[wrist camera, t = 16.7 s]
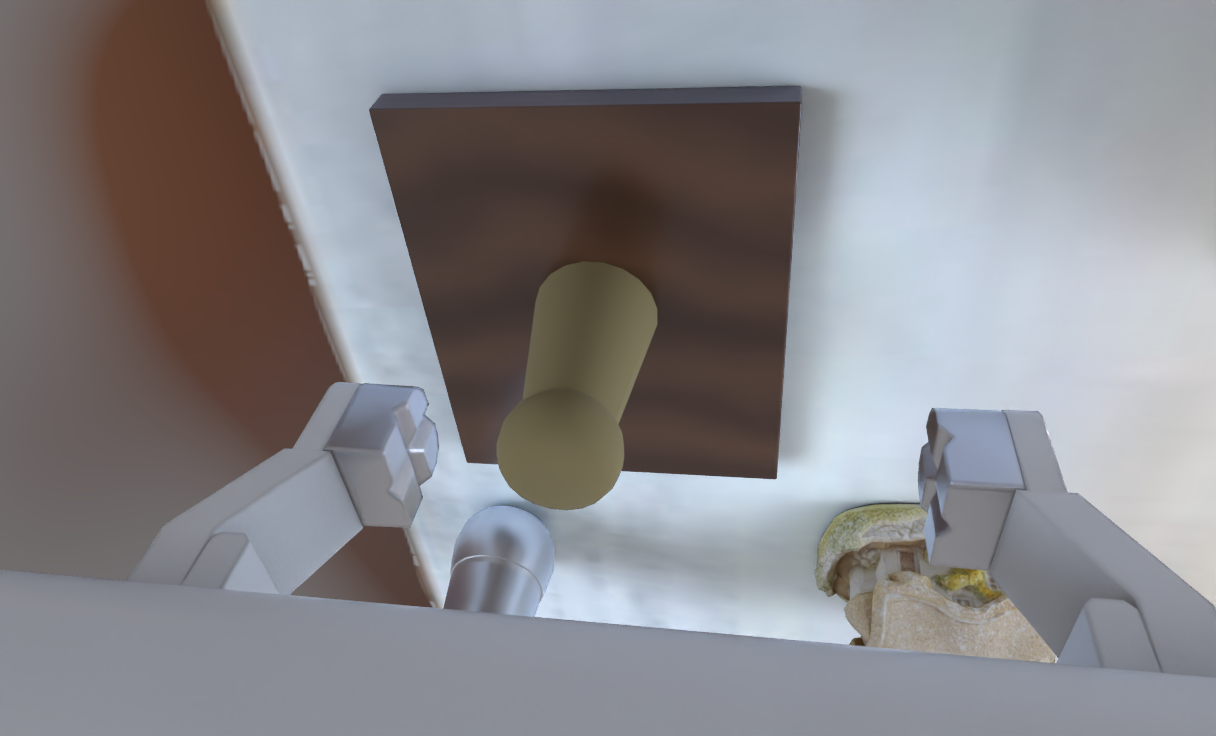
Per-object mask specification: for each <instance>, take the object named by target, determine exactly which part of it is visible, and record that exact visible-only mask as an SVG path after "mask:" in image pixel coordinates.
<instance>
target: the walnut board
mask: <svg viewBox="0 0 1216 736" xmlns="http://www.w3.org/2000/svg"><path fill="white" fill-rule="evenodd" d="M801 110H802V94H801V87H800V86H778V87H728V88H678V89H628V90H578V91H528V92H477V93H427V94H382V95H381V96H380V97H379V98H378V99H377V100H376V102H375V103H374V104H373V105H372V107H371V108H370V109H369V112H370V115H371V119H372V123H373V126H374V130H375V133H376V137H377V141H378V144H379V148H380V151H381V155H382V159H383V162H384V166H385V169H386V173H387V177H388V180H389V184H390V187H391V191H392V195H393V198H394V202H395V205H396V209H397V213H398V216H399V220H400V223H401V227H402V230H403V234H404V238H405V241H406V245H407V248H408V252H409V256H410V259H411V263H412V266H413V270H414V274H415V277H416V281H417V284H418V288H419V292H420V295H421V299H422V302H423V306H424V310H425V313H426V317H427V320H428V324H429V328H430V331H431V335H432V338H433V342H434V346H435V349H436V353H437V356H438V360H439V364H440V367H441V371H442V374H443V378H444V382H445V385H446V389H447V392H448V396H449V400H450V403H451V407H452V410H453V414H454V418H455V421H456V425H457V428H458V432H459V436H460V439H461V443H462V446H463V450H464V454H465V457H466V461H467V463H482V464H498V459H497V441H498V437H499V434H500V430H501V427H502V425H503V422H504V420H505V418H506V417H507V416H508V415H509V413H510V412H511V411H512V410H513V409H514V407H515V406H516V405H517V404H518V403H519V402H520V401H522V399H523V392H524V384H525V377H526V369H527V362H528V354H529V347H530V340H531V332H532V325H533V317H534V310H535V302H536V298H537V295H538V291H539V288H540V286H541V285H542V284H543V282H544V281H545V280H546V279H547V277H548V276H549V275H550V274H551V273H553V272H555V271H557V270H558V269H560V268H562V267H563V266H565V265H570V264H574V263H579V262H583V261H585V262H603V263H607V264H610V265H613V266H616V267H619V268H622V269H624V270H625V271H627V272H629V273H630V274H632V275H633V276H635V277H636V278H638V279H639V280H640V281H641V282H642V283H643V284H644V286H645V287H646V288H647V289H648V290H649V291H650V293H651V294H652V297H653V299H654V302H655V304H656V307H657V327H656V329H655V332H654V334H653V337H652V339H651V342H650V345H649V347H648V350H647V352H646V355H645V357H644V360H643V363H642V365H641V368H640V370H639V373H638V375H637V378H636V380H635V383H634V386H633V388H632V391H631V393H630V396H629V398H628V401H627V404H626V406H625V409H624V411H623V414H622V416H621V419H620V422H619V424H618V425H619V427H620V429H621V431H622V435H623V441H624V462H623V468H622V470H621V471H631V472H650V473H668V474H687V475H705V476H724V477H743V478H761V479H776V478H777V467H778V452H779V437H780V422H781V407H782V392H783V378H784V363H785V348H786V333H787V318H788V303H789V288H790V273H791V259H792V244H793V229H794V214H795V199H796V184H797V169H798V155H799V140H800V125H801Z"/></svg>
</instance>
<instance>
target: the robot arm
mask: <svg viewBox="0 0 1216 736" xmlns="http://www.w3.org/2000/svg"><path fill="white" fill-rule="evenodd" d="M428 405H429V403H428V400H427V398H426V395H425V392H424V389H421V388H419V387H413V386H398V385H383V384H368V383H364V384H357V383H344V382H336V383H335V384H333V385H332V386H330V387H329V389H328V390H327V392H326V394H325V395H324V397H323V399H322V400H321V402H320V404H319V405H318V407H317V409H316V410H315V412H314V414H313V415H312V417H311V419H310V420H309V422H308V424H307V425H306V427H305V429H304V431H303V432H302V434H301V435H300V437H299V439H298V440H297V442H296V444H295V445H294V447H293V449H283V450H282V451H280V452H278V453H277V454H275V455H274V456H272V457H271V458H269V459H267V460H266V461H264V462H262V463H261V464H259V465H258V466H256V467H255V468H253V469H252V470H250V471H249V472H247V473H245V474H244V475H242V476H240V477H239V478H237V479H236V480H234V481H233V482H231V483H230V484H228V485H226V486H225V487H223V488H221V489H220V490H218V491H217V492H215V493H214V494H212V495H210V496H209V497H207V498H206V499H204V500H203V501H201V502H199V503H198V504H196V505H195V506H193V507H192V508H190V509H188V510H187V511H185V512H184V513H182V514H181V515H179V516H177V517H176V518H174V519H173V520H171V521H169V522H168V523H166V524H165V525H164V526H163V527H162V529H161V530H160V532H159V533H158V535H157V536H156V537H155V539H154V540H153V542H152V543H151V545H150V546H149V548H148V549H147V550H146V552H145V553H144V555H143V556H142V558H141V559H140V561H139V562H138V563H137V565H136V567H135V568H134V569H133V571H132V572H131V574H130V575H129V577H128V578H127V579H126V581H123V580H111V579H101V578H89V577H79V576H67V575H55V574H45V573H33V572H22V571H10V570H0V736H1216V609H1215V607H1214V605H1213V604H1212V603H1210V602H1209V601H1208V600H1207V599H1206V598H1204V597H1203V596H1202V595H1201V594H1200V593H1198V592H1197V591H1196V590H1195V589H1193V588H1192V587H1191V586H1190V585H1189V584H1187V583H1186V582H1185V581H1184V580H1183V579H1181V578H1180V577H1179V576H1178V575H1177V574H1175V573H1174V572H1173V571H1172V570H1170V569H1169V568H1168V567H1167V566H1166V565H1164V564H1163V563H1162V562H1161V561H1160V560H1158V559H1157V558H1156V557H1155V556H1153V555H1152V554H1151V553H1150V552H1149V551H1147V550H1146V549H1145V548H1144V547H1143V546H1141V545H1140V544H1139V543H1138V542H1137V541H1135V540H1134V539H1133V538H1132V537H1130V536H1129V535H1128V534H1127V533H1126V532H1124V531H1123V530H1122V529H1121V528H1120V527H1118V526H1117V525H1116V524H1115V523H1113V522H1112V521H1111V520H1110V519H1109V518H1107V517H1106V516H1105V515H1104V514H1103V513H1101V512H1100V511H1099V510H1098V509H1097V508H1095V507H1094V506H1093V505H1092V504H1090V503H1089V502H1088V501H1087V500H1086V499H1084V498H1083V497H1082V496H1081V495H1080V494H1078V493H1068V492H1067V489H1066V486H1065V483H1064V480H1063V477H1062V474H1061V471H1060V468H1059V465H1058V461H1057V458H1056V455H1055V452H1054V449H1053V446H1052V443H1051V440H1050V437H1049V434H1048V431H1047V428H1046V425H1045V422H1044V419H1043V416H1042V415H1041V414H1040V413H1039V412H1038V411H1019V410H1002V411H999V410H976V409H947V408H932V409H931V411H930V414H929V417H928V421H927V426H926V428H927V434H928V441H929V442H928V443H927V444H925V445H924V446H923V447H922V449H921V455H920V460H919V471H918V490H919V499H920V507H921V508H922V509H923V510H924V511H925V512H926V513H927V518H926V523H925V527H924V534H925V540H926V546H927V552H928V559H929V565H933V566H943V567H954V568H964V569H974V570H985V571H989V573H988V574H989V575H990V576H991V577H992V578H993V580H994V581H995V582H996V583H997V585H998V586H999V587H1000V588H1001V589H1002V591H1003V592H1004V593H1005V594H1006V595H1007V597H1008V598H1009V599H1010V600H1011V601H1012V603H1013V604H1014V605H1015V606H1016V607H1017V609H1018V610H1019V611H1020V612H1021V613H1022V615H1023V616H1024V617H1025V618H1026V619H1027V621H1028V622H1029V623H1030V624H1031V625H1032V627H1033V628H1034V629H1035V630H1036V632H1037V633H1038V634H1039V635H1040V636H1041V638H1042V639H1043V640H1044V641H1045V642H1046V644H1047V645H1048V646H1049V647H1050V648H1051V650H1052V651H1053V652H1054V653H1055V654H1056V656H1057V657H1058V658H1059V659H1058V661H1057V663H1045V662H1034V661H1023V660H1011V659H1000V658H989V657H978V656H966V655H955V654H944V653H933V652H921V651H910V650H899V649H888V648H877V647H866V646H854V645H843V644H832V643H821V642H810V641H798V640H787V639H776V638H765V637H753V636H742V635H731V634H720V633H709V632H697V631H686V630H675V629H664V628H653V627H641V626H630V625H619V624H608V623H596V622H585V621H574V620H563V619H551V618H540V617H529V616H518V615H506V614H495V613H484V612H473V611H461V610H450V609H439V608H428V607H416V606H405V605H393V604H383V603H371V602H360V601H349V600H338V599H326V598H315V597H304V596H292V595H290V594H291V593H292V592H293V591H294V590H295V589H296V588H298V587H299V586H300V585H301V584H302V583H303V582H304V581H305V580H306V579H308V578H309V577H310V576H311V575H312V574H313V573H314V572H315V571H316V570H317V569H319V568H320V567H321V566H322V565H323V564H324V563H325V562H326V561H327V560H329V559H330V558H331V557H332V556H333V555H334V554H335V553H336V552H337V551H338V550H340V549H341V548H342V547H343V546H344V545H345V544H346V543H347V542H348V541H349V540H350V539H352V538H353V537H354V536H355V535H356V534H357V533H358V532H359V531H360V530H362V529H363V526H384V527H406V528H410V527H411V525H412V522H413V520H414V518H415V515H416V513H417V510H418V508H419V506H420V503H421V501H422V498H423V495H422V492H421V489H420V485H421V484H422V483H424V482H425V481H426V480H428V479H429V478H430V477H432V474H433V471H434V469H435V466H436V464H437V457H438V450H439V442H438V433H437V430H436V426H435V423H434V422H433V421H432V420H430V419H429V418H428V417H427V416H426V415H425V411H426V409H427V407H428Z"/></svg>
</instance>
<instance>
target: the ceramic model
mask: <svg viewBox="0 0 1216 736" xmlns="http://www.w3.org/2000/svg"><path fill="white" fill-rule="evenodd" d="M926 518H927V513H926V512H925V511H924V510H923V509H922V508H921V507H920V505H919V504H878V505H869V506H862V507H858V508H853V509H850V510H847V511H845V512H843V513H841V514H839V515H838V516H836V517H835V518H834V520H833V521H832V522H831V523H830V525H829V526H828V528H827V529H826V531H825V533H824V535H823V536H822V537H821V540H820V542H819V545H818V560H817V568H816V569H815V570H814V572H815V577H816V581H817V587H818V589H819V590H822V591H824V592H826V593H827V596H828V597H830V596H833V595H834V594H835V593H836V594H837V595H838V596H839V597H841V598H842V599H843V600H845V601H846V602H848V603H847V605H846V607H845V609H844V610H845V615H846V618H847V620H848V621H849V623H850V624H851V625H852V626H853V628H854V629H855V630H857V631H858V633H859V634H860V635H861V637H860V638H854V639H852V641H851V643H850V644H849V645H854V646H866V647H877V648H888V649H899V650H910V651H921V652H933V653H944V654H955V655H966V656H978V657H989V658H1000V659H1011V660H1023V661H1034V662H1045V663H1054V662H1055V657H1056V654H1055V653H1054V652H1053V651H1052V650H1051V648H1050V647H1049V646H1048V645H1047V644H1046V642H1045V641H1044V640H1043V639H1042V638H1041V636H1040V635H1039V634H1038V633H1037V632H1036V630H1035V629H1034V628H1033V627H1032V625H1031V624H1030V623H1029V622H1028V621H1027V619H1026V618H1025V617H1024V616H1023V615H1022V613H1021V612H1020V611H1019V610H1018V609H1017V607H1016V606H1015V605H1014V604H1013V603H1012V601H1011V600H1010V599H1009V598H1008V597H1007V595H1006V594H1005V593H1004V592H1003V591H1002V589H1001V588H1000V587H999V586H998V585H997V583H996V582H995V581H994V580H993V578H992V577H991V576H990V575H989V574H988V573H989V571H985V570H974V569H964V568H954V567H943V566H933V565H929V559H928V552H927V546H926V540H925V534H924V527H925V523H926Z"/></svg>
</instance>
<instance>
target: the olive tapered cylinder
mask: <svg viewBox="0 0 1216 736" xmlns="http://www.w3.org/2000/svg"><path fill="white" fill-rule="evenodd" d="M656 327H657V307H656V304H655V302H654V299H653V297H652V294H651V293H650V291H649V290H648V289H647V288H646V287H645V286H644V284H643V283H642V282H641V281H640V280H639V279H638V278H636V277H635V276H633V275H632V274H630V273H629V272H627V271H625V270H624V269H622V268H619V267H616V266H613V265H610V264H607V263H603V262H585V261H583V262H579V263H574V264H570V265H565V266H563V267H562V268H560V269H558V270H557V271H555V272H553V273H551V274H550V275H549V276H548V277H547V279H546V280H545V281H544V282H543V284H542V285H541V286H540V288H539V291H538V295H537V298H536V302H535V310H534V317H533V325H532V332H531V340H530V347H529V354H528V362H527V369H526V377H525V384H524V392H523V399H522V401H520V402H519V403H518V404H517V405H516V406H515V407H514V409H513V410H512V411H511V412H510V413H509V415H508V416H507V417H506V418H505V420H504V422H503V425H502V427H501V430H500V434H499V437H498V441H497V459H498V465H499V468H500V471H501V473H502V475H503V477H504V479H505V480H506V482H507V483H508V485H509V487H510V488H512V489H513V490H514V491H515V492H516V493H517V494H518V495H520V496H521V497H523V498H524V499H526V500H528V501H530V502H532V503H534V504H536V505H540V506H543V507H546V508H550V509H559V510H573V509H581V508H584V507H587V506H589V505H592V504H594V503H596V502H597V501H599V500H600V499H601V498H602V497H603V496H605V495H606V494H607V493H608V492H609V491H610V490H611V489H612V488H613V487H614V485H615V483H616V481H617V479H618V477H619V475H620V472H621V470H622V468H623V462H624V441H623V435H622V431H621V429H620V427H619V425H618V424H619V422H620V419H621V416H622V414H623V411H624V409H625V406H626V404H627V401H628V398H629V396H630V393H631V391H632V388H633V386H634V383H635V380H636V378H637V375H638V373H639V370H640V368H641V365H642V363H643V360H644V357H645V355H646V352H647V350H648V347H649V345H650V342H651V339H652V337H653V334H654V332H655V329H656Z"/></svg>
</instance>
